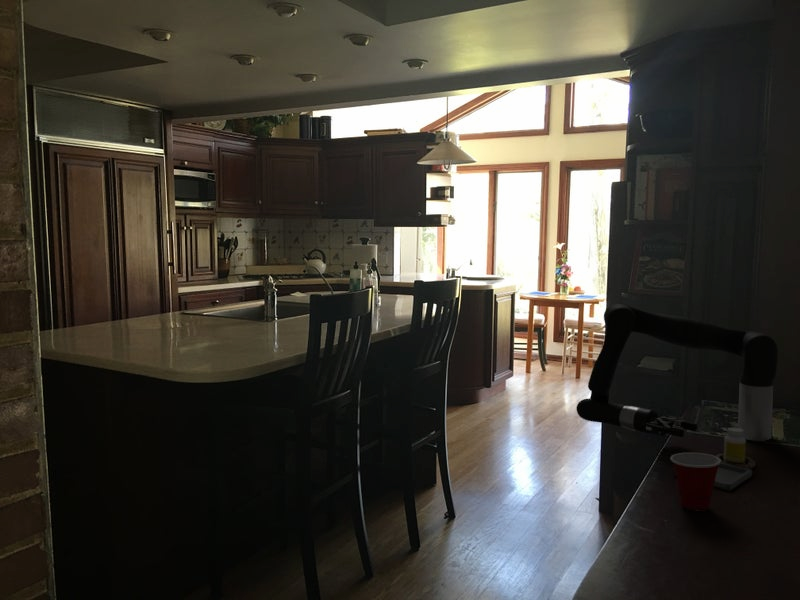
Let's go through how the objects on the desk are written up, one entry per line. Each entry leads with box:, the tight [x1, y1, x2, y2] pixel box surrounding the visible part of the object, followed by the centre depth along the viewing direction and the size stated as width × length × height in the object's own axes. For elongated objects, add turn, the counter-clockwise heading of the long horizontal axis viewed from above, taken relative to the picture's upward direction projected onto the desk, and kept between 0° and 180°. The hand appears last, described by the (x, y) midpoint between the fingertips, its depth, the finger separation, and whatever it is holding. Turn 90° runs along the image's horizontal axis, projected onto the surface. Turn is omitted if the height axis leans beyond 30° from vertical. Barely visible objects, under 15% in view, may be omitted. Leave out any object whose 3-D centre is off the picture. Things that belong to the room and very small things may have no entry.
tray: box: [673, 462, 753, 492], centre depth 169 cm, size 15×14×2 cm
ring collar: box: [715, 453, 756, 470], centre depth 178 cm, size 10×10×1 cm
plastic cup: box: [669, 452, 722, 512], centre depth 149 cm, size 11×11×12 cm
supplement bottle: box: [722, 427, 747, 464], centre depth 177 cm, size 5×5×10 cm
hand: (690, 430), depth 186 cm, fingers open, 8 cm apart
